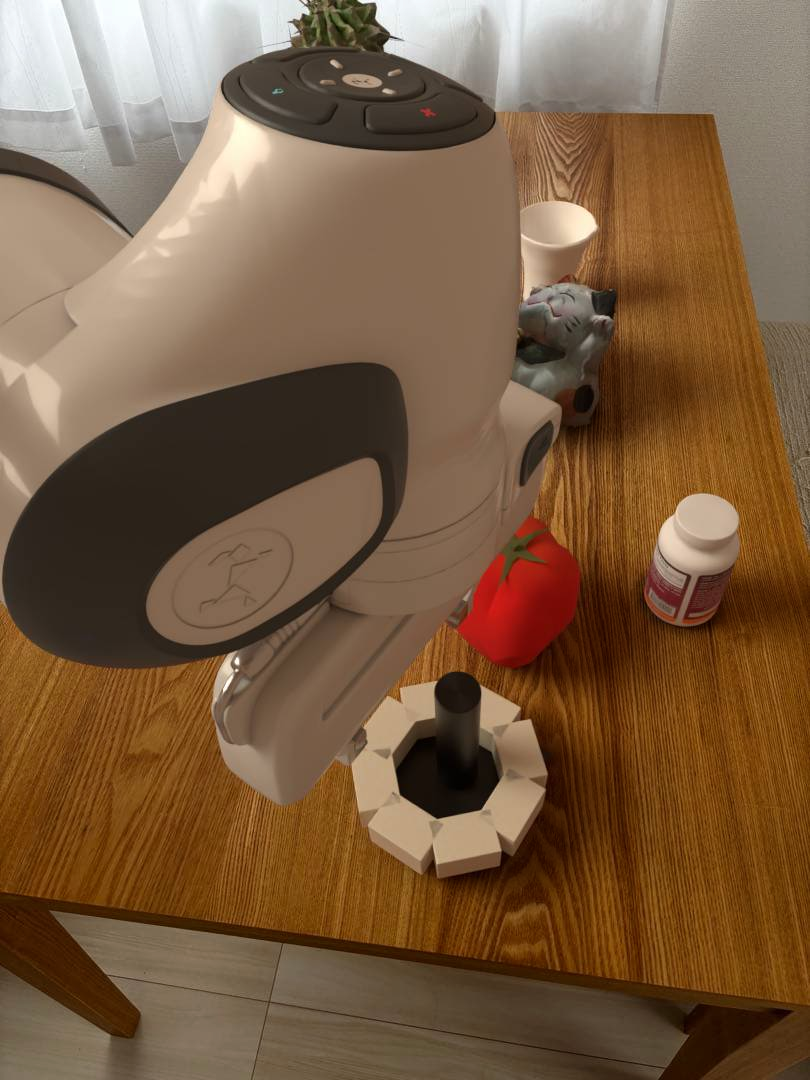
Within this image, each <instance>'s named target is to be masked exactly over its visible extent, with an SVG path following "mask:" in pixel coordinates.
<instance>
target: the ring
mask: <svg viewBox="0 0 810 1080" xmlns="http://www.w3.org/2000/svg"><path fill="white" fill-rule="evenodd" d="M437 681H438V680H434V681H429V682H424V683H417V684H414V685H408V686H403V687H400V688H399V692H400V701H399V700H397V699H395V698H393V697H392V696H390V695H386V696H385V698H384V699H383V700H382V702H381V703H380V704H379V707H377V708H376V710H375V712H373V714H372V716H370V717H369V718H370V719H368V721H366V723H365V725H364V726H363V728H364V729H365V730H366V733H367V737H366V740H368V743H367V745H366V746H365V747H364V749H363V750H362V751H361V753H360V754H359V755H358V757H357V758H356V759H355V760H354V762H353V763H352V764H351V765H350V766H351V771H352V778H353V783H354V790H355V795H356V802H357V808H358V814H359V819H360V823H361V827H362V829H365V828H367V829H368V833H369V838H370V841H371V842H372V843H373V844H375V845H376V846H377V847H379V848H381V849H382V850H384V851H385V852H387V853H388V854H390V855H391V856H392V857H394V858H396V859H397V860H398V861H400V862H401V863H402V864H405V865H406V866H407V867H409V868H410V869H412V870H413V871H415V872H416V873H418V874H419V875H421V876H423V875H424V874H425V872H426V871H427V869H428V868H429V866H430V865H431V863H432V862H433V864H434V869H435V874H436V878H437V879H443V878H447V877H448V878H449V877H453V876H457V875H463V874H467V873H472V872H477V871H482V870H486V869H491V868H496V867H499V866H501V859H502V852H503V853H506V854H507V855H508V856H510V857H514V855H515V853H516V852H517V850H518V849H519V846H520V845H521V843H523V840H524V838H525V837H526V835H527V834H528V832H529V830H530V828H531V827H532V825H533V824H534V822H535V820H536V819H537V817H538V815H539V813H540V812H541V811H542V808H543V806H544V802H545V797H546V792H547V789H546V785H547V781H548V775H549V773H548V770H547V767H546V765H545V763H544V760H543V757H542V753H541V750H540V748H541V747H540V744H539V740H538V738H537V734H536V730H535V728H534V724H533V722H532V719H531V718H529V719H525V720H524V719H523V720H521V715H522V706H520V705H517V704H515V703H514V702H512V701H510V700H508V699H507V698H506V697H503V696H501V695H500V694H498V693H496V692H494V691H492V690H491V689H489V688H487V687H486V686H484V685H481V684H480V687H481V691H482V695H481V716H480V736H479V745H481V746H483V747H484V748H486V749H488V750H489V751H491V752H492V754H493V758H494V762H495V765H496V769H497V773H498V777H499V780H500V782H499V783H498V785H497V786H496V788H495V790H494V791H493V793H492V794H491V796H490V797H489V799H488V801H487V802H486V804H485V805H484V807H483V808H482V810H480V811H475V812H470V813H465V814H461V815H456V816H451V817H446V818H441V819H436V818H435V817H433V816H432V815H430V814H428V813H427V812H425V811H424V810H422V809H421V808H419V807H418V806H416V805H414V804H413V803H411V802H410V801H408V800H407V799H405V798H404V797H402V796H400V791H399V786H398V781H397V776H396V769H397V767H398V766H399V764H400V763H401V762H402V760H403V759H404V757H405V756H406V755H407V753H408V752H409V750H410V749H411V748H412V746H413V745H414V743H415V742H416V741H417V739H422V738H427V737H432V736H436V728H435V703H434V689H435V685H436V683H437Z"/></svg>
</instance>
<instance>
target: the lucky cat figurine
mask: <svg viewBox="0 0 810 1080" xmlns="http://www.w3.org/2000/svg"><path fill="white" fill-rule="evenodd" d="M617 297H618V292H617V290H616V289H615V288H610V289H608V288H607V289H603V290H600V291H598V290H595V289H593V288H590V287H589V286H588V285H587V284H579V283H578V279H577V277H576V275H575V276H574V275H572V274H570V273H568V274H567V275H566V276H564V277H563V278H561V279H560V280H559V281H558V282H557V283H556V284H555V285H550V286H546V285H541V284H540V285H539V286H538V287H536V288H535V287H532V290H531V292H530V297H529V298H528V299H527V300H526V301H523V302H522V303H521V304H520V305H519V321H518V333H517V345H516V355H515V363H514V368H513V372H512V375H511V378H510V380H511V381H514V382H516V383H518V384H520V385H522V386H525V387H527V388H529V389H531V390H533V391H535V392H537V393H539V394H541V395H543V396H545V397H546V398H548V399H550V400H552V401H554V402H555V403H557V404H559V405H560V406H561V408H562V415H561V423H560V425H566V426H569V427H581V426H588V425H591V423H592V419H593V414H594V412H595V409H596V407H597V405H598V403H599V401H600V396H601V394H600V389H599V370H600V365H601V362H602V361H603V359H604V358H605V355H606V351H607V349H608V348H609V347H610V344H611V342H612V340H613V339H612V338H613V337H614V335H615V332H616V323H615V320H614V316H615V314H616V312H617V310H616V304H617V299H618V298H617Z"/></svg>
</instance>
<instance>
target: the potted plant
mask: <svg viewBox="0 0 810 1080" xmlns="http://www.w3.org/2000/svg"><path fill="white" fill-rule="evenodd" d="M298 1H299V2H300V3H301V4H302V5H303V6H302V7H301V9H302V8H304V7H306V8H307V9H308V11H309V13H308V14H306V13H303V12H302V13H301V15H300V18H299V19H296V18H293V19H292V20H289V21H287V24H288V25H287V26H290V25H289V24H292V25H293V26H294V27H295V29H297V31H295V32H294V33H293V35H295V36H292V34H291V30H290V28H288V31H289V38H290V39H289V40H287V41H283V42H278V43H272V44H267V45H264V46H261V47H259V49H260V48H266V47H269V46H273V45H274V46H275V45H279V44H285V43H289V42H290V44H291V45H290V46H289V47H287V48H285V49H290V48H299V47H316V46H338V47H355V48H357V49H358V50H359V51H361V50H363V51H371V52H378V53H382V54H390V53H389V52H386V51H385V48H384V46H385V45H386V44H387V43H388V42H389V40H390V41H393V40H394V41H396V42H400V41H401V42H406V43H407V42H408V43H410V44H411V43H412V42H409V41H407V40H404V39H403V38H399V37H397V36H394V35H391V32H390V31H389V30H387V28H385V27H384V26H383V25H381V24H380V23H379V21H378V20H377V18H376V16H377V10H378V7H377V3H376V2H374V1H373V2H365V3H364V2H363V3H362V2H361V1H359V0H306V3H305V2H304V1H303V0H298ZM297 34H298V35H297ZM412 44H413V45H416V46H418V47H421V48H423V46H422V45H417V44H415V43H412ZM425 48H426V47H425ZM256 49H258V47H256V48H255V50H256ZM426 49H427V48H426Z"/></svg>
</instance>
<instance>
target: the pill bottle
mask: <svg viewBox="0 0 810 1080" xmlns="http://www.w3.org/2000/svg"><path fill="white" fill-rule="evenodd" d="M739 527H740V517H739V514H738V511H737V510H736V508H735V506H734V505H732V504H731V502H730V501H728V500H726V499H724V498H723V497H721V496H718V495H715V494H711V493H694V494H690V495H688V496H686V497H684V498H683V499H682V500H681V501H680V502H679V503H678V505H677V506H676V509H675V512H674V514H672V515H671V516H669V517H668V518H667V519H666V520H665V521H664V523H663V524H662V526H661V527H660V530H659V533H658V536H657V540H656V545H655V548H654V551H653V554H652V558H651V562H650V566H649V569H648V574H647V576H646V580H645V584H644V590H643V592H644V599H645V602H646V604H647V606H648V608H649V610H650V611H651V612H652V613H653V614H654V615H655V616H656V617H657V618H659V619H660V620H661V621H663V622H665V623H668V624H669V625H673V626H676V627H677V626H678V627H694V626H699V625H701V624H704V623H706V622H708V621H709V620H710V619H711V618H713V616H714V615H715V614H716V612H717V610H718V608H719V606H720V603H721V600H722V599H723V595H724V593H725V590H726V588H727V585H728V582H729V580H730V578H731V575H732V573H733V570H734V567H735V565H736V562H737V561H738V558H739V554H740V550H741V540H740V537H739V534H738V532H737V531H738V529H739Z"/></svg>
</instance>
